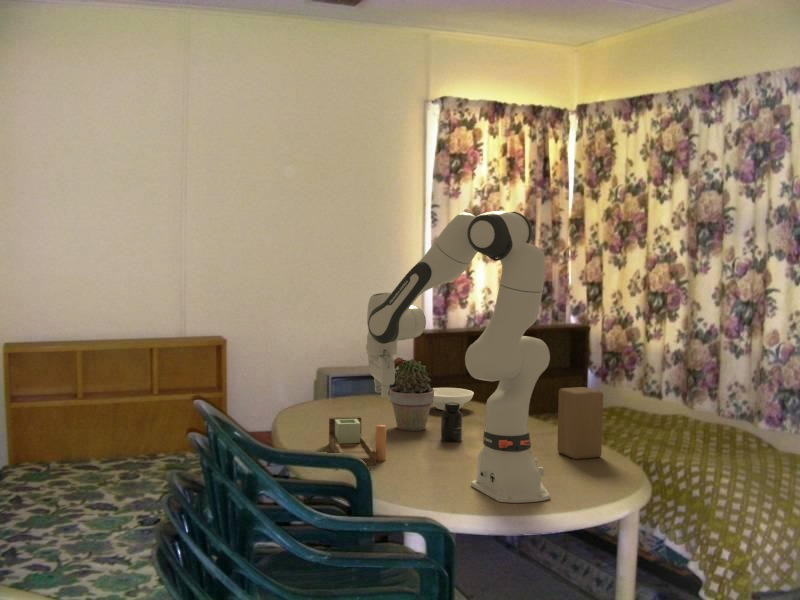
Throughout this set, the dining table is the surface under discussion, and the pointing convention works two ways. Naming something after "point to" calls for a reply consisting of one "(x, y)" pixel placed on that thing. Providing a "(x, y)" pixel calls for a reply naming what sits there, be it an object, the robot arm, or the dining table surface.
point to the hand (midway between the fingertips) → (381, 395)
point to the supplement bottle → (451, 423)
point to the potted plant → (411, 395)
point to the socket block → (347, 430)
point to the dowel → (381, 442)
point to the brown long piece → (351, 444)
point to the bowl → (451, 396)
